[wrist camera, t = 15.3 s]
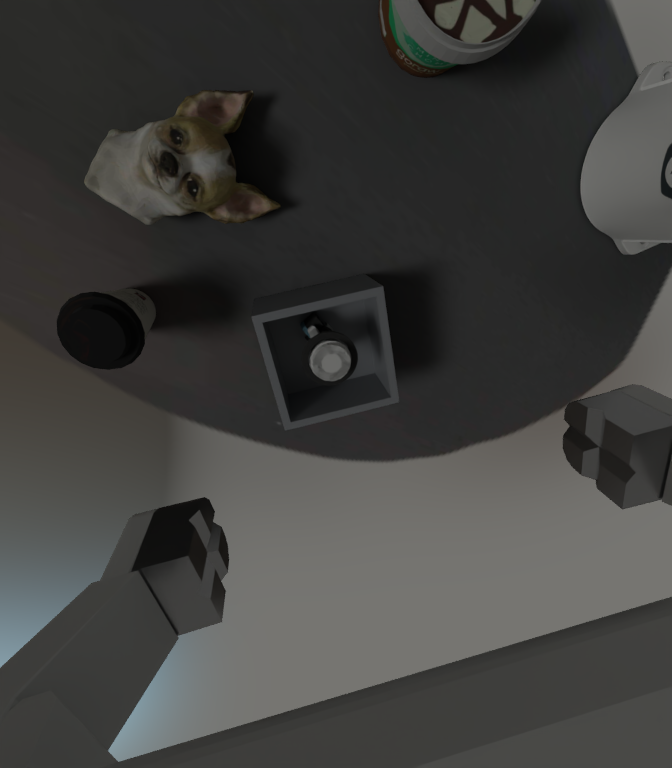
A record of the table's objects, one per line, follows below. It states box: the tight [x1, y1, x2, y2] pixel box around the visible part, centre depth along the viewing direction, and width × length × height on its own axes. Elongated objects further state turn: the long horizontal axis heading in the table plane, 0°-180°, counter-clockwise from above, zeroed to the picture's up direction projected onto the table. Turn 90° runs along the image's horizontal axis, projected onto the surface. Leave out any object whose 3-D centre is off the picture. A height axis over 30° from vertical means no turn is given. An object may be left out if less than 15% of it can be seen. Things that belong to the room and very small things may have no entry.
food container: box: [378, 0, 542, 78], centre depth 32 cm, size 12×6×10 cm, turn 84°
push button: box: [300, 312, 358, 386], centre depth 40 cm, size 7×5×10 cm
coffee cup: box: [57, 288, 156, 370], centre depth 37 cm, size 7×7×10 cm
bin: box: [251, 274, 399, 431], centre depth 42 cm, size 13×13×8 cm
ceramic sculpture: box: [85, 90, 281, 225], centre depth 34 cm, size 11×9×15 cm
